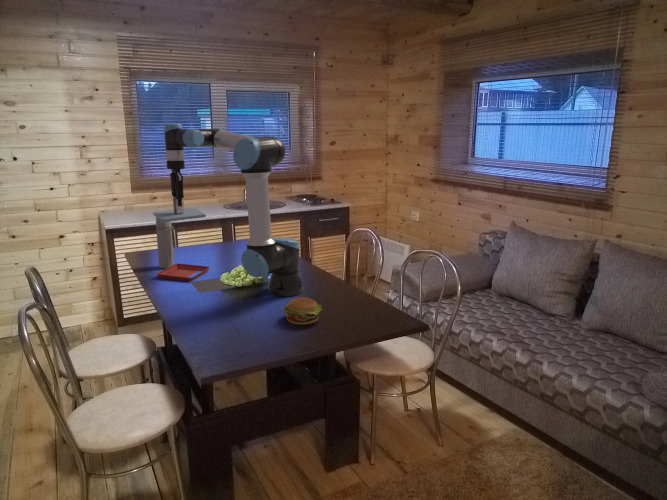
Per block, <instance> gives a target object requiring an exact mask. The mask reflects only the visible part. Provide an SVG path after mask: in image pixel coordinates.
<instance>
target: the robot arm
mask: <svg viewBox="0 0 667 500" xmlns="http://www.w3.org/2000/svg"><path fill="white" fill-rule="evenodd" d="M164 142H165V143H164V144H165V158H166V168H167V170H171V172H169V177H170V187H171V196H172V199H173V198H175V197H176V198H175V199H176V211H177V214H178V213H183V209H184V205H183V203H184V202H183V198H184V176H183V174H182V172H181V170H184V169H185V168H186V167H185V160H184V159H185V154H186V152H185V151H184V148H192V149H195V148H200V147H201V148H202V147H213V148H220V149H224V150H228V151H231V152H233V153H232V159H233V163H234V164H235V166H236V167H237V168H238V169H240V174H241V175H242V176H243V177H244V178H245V188H246V189H245V190H246V203H247V205H246V206H247V215H248V216H247V217H248V218H247V219H248V231H249V239H248V241H246V249H245V250H244V251H243V252H242V254H241V258H240V259H241V265H242V268H243V269H244V271H245V272H246V273H247V275H250V277H253V278H261V277H266V276H267V275H270V278H269V281H268V284H267V292H268V293H269V294H271V295H273V296H275V297H276V296H277V297H294V296H297V295H300V294H302V293H303V292H304V284H303V282H302V278H301V275H300V243H299V241H298V240H297V239H295V238H292V237H284V236H281V237H277V236H274V237H272V224H271V223H272V222H271V208H270V207H271V206H270V205H271V204H270V191H269V190H270V189H269V176H270V175H271V174H272V167H275V166H278V165H280V164H281V163H282V162H283V161H284V159H285V157H286V147H285V144H284V142H283V141H282V140H281V139H280V138H278V137H275V136H265V135H264V136H252V135H246V134H242V133H241V134H240V133H237V132H230V131H225V130H223V129H221V128H215V127H214V128H183V124H182V123H165V124H164Z"/></svg>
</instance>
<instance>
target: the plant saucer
mask: <svg viewBox="0 0 667 500" xmlns="http://www.w3.org/2000/svg"><path fill="white" fill-rule="evenodd" d="M210 268H211V267H210V266H206V265H199V264H187V263H174V265H172V266H170V267H168V268H166V269H163V270H160V271H158V272H156V275H157V277H159V278H160V279H162V280H163V279H164V280H174V281H182V282H193V281H195V280H196V279H197V278H199V277H201V276H202V275H204V274H206V273H207V272H208V271H209V270H210ZM198 272H199V273H198ZM196 273H197V274H196ZM193 274H195V275H193ZM192 275H193V276H192ZM191 276H192V277H191Z"/></svg>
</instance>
